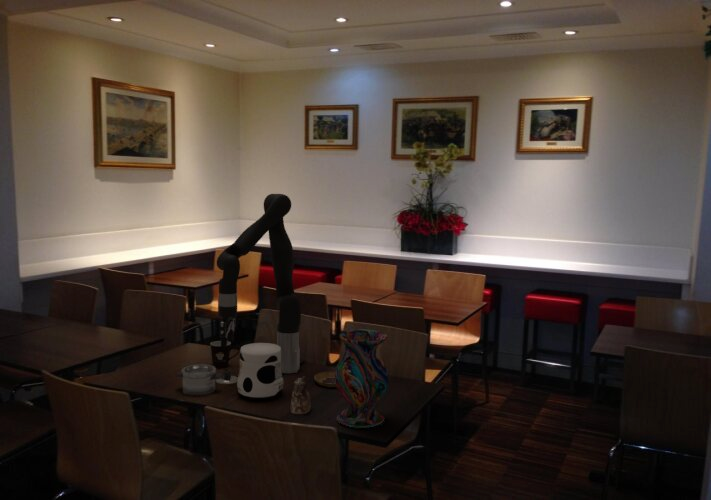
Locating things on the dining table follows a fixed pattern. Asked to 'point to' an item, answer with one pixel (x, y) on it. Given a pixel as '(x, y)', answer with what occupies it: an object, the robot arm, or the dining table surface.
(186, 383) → the pot
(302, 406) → the figurine
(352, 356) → the vase
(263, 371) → the milk container
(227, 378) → the lid
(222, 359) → the coffee mug
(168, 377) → the dining table surface
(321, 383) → the plant saucer
